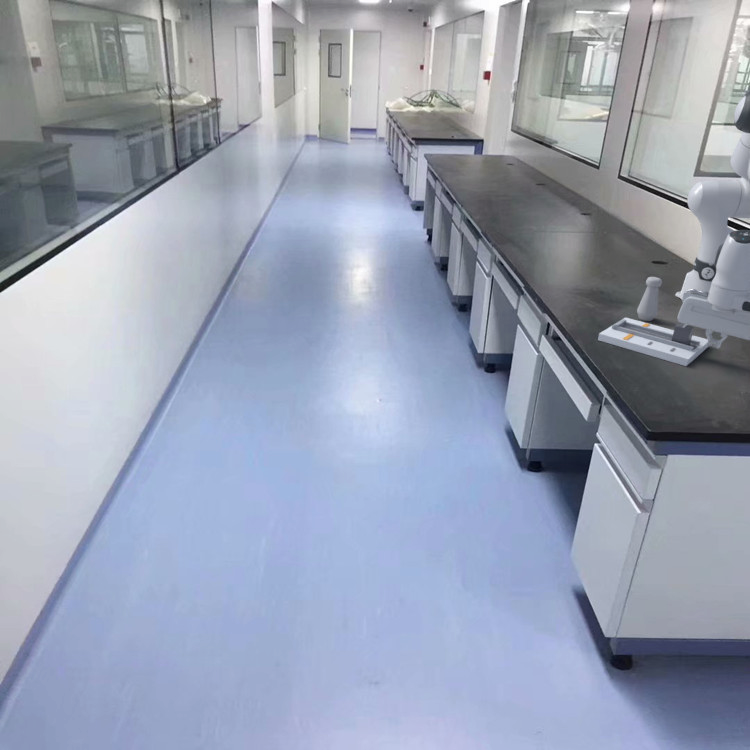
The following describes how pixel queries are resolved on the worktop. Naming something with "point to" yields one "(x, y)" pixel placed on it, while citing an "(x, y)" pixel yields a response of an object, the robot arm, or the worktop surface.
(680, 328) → the fader tab
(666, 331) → the console
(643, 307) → the salt shaker
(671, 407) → the worktop surface
